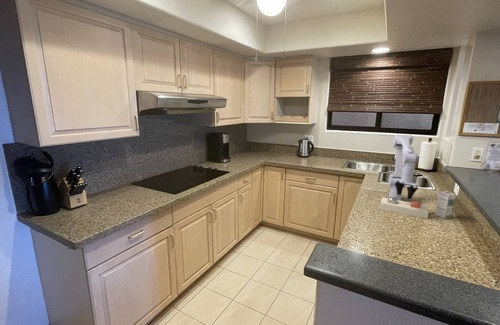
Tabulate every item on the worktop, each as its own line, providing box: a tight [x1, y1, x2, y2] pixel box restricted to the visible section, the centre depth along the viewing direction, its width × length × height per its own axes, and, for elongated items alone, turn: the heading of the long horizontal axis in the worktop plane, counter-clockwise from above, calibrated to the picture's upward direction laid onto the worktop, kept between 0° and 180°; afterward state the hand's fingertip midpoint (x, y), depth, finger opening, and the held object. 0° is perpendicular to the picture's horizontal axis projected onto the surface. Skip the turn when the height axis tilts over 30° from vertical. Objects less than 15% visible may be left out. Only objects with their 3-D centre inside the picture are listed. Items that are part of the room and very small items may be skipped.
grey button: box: [387, 196, 398, 204], centre depth 151 cm, size 5×5×5 cm
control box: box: [379, 197, 430, 220], centre depth 149 cm, size 12×24×4 cm, turn 58°
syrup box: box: [434, 190, 457, 219], centre depth 140 cm, size 6×6×14 cm
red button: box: [410, 200, 422, 208], centre depth 145 cm, size 5×5×5 cm
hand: (404, 196), depth 144 cm, fingers open, 7 cm apart
